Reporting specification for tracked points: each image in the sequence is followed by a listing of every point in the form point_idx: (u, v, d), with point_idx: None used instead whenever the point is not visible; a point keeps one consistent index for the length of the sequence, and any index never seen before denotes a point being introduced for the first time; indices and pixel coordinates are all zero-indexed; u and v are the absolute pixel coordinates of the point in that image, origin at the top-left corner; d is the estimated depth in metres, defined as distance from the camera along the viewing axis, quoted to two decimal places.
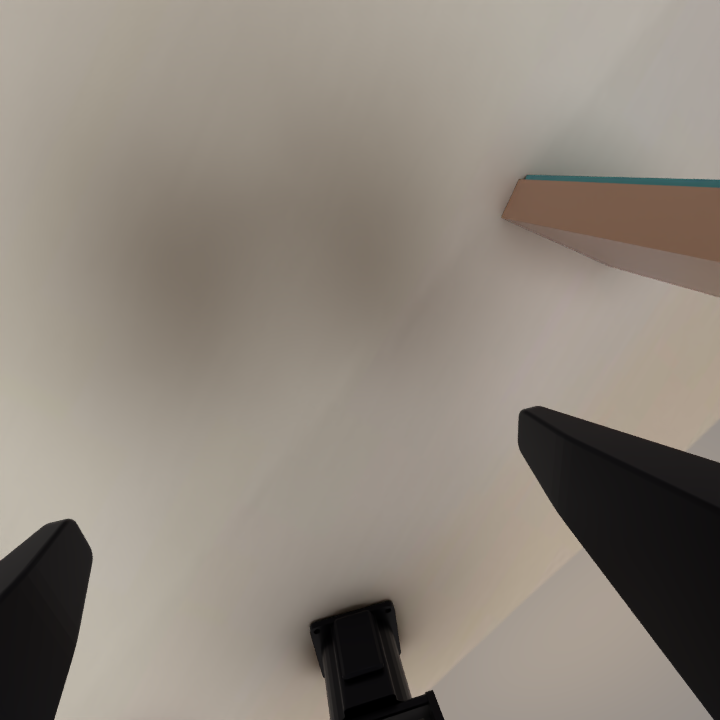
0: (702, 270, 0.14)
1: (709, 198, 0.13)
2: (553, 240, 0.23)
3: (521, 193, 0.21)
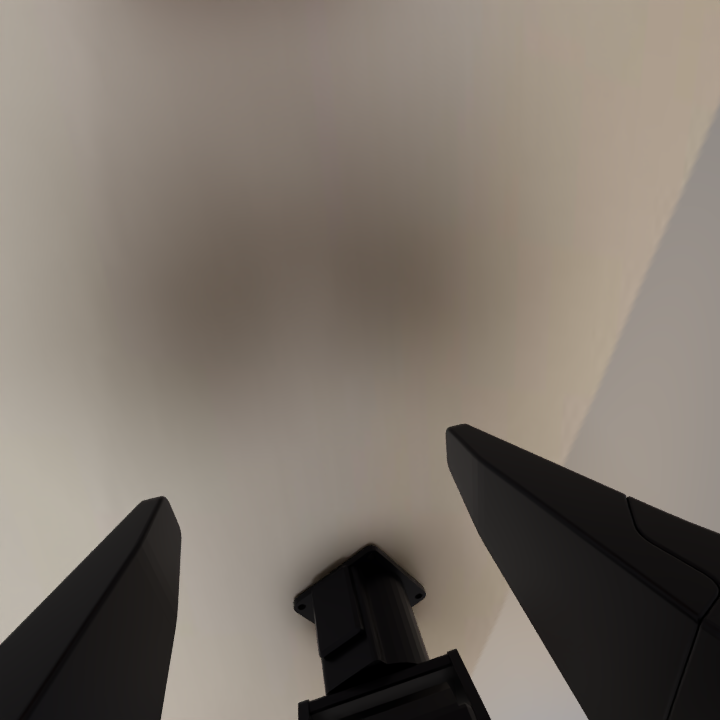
0: None
1: None
2: None
3: None
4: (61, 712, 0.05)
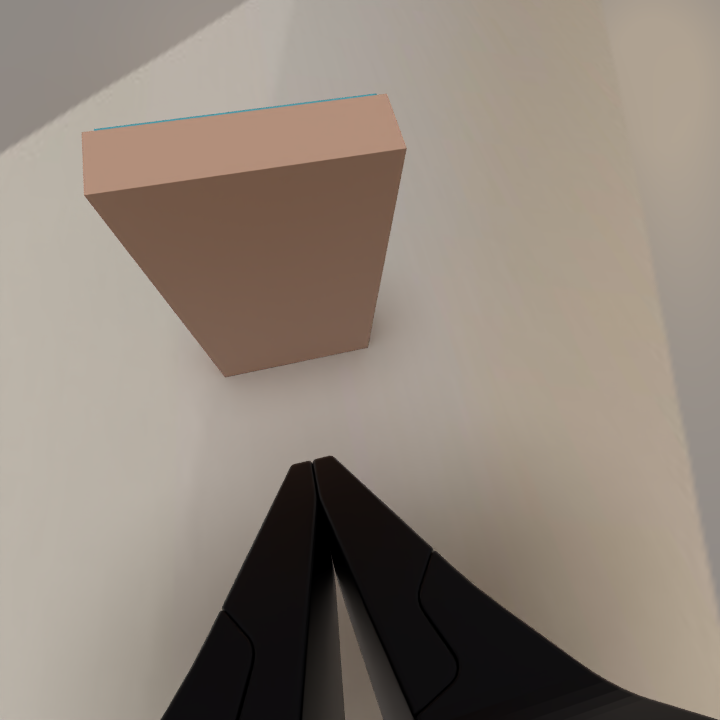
0: (211, 269, 0.14)
1: None
2: (286, 362, 0.23)
3: None
4: (314, 637, 0.05)
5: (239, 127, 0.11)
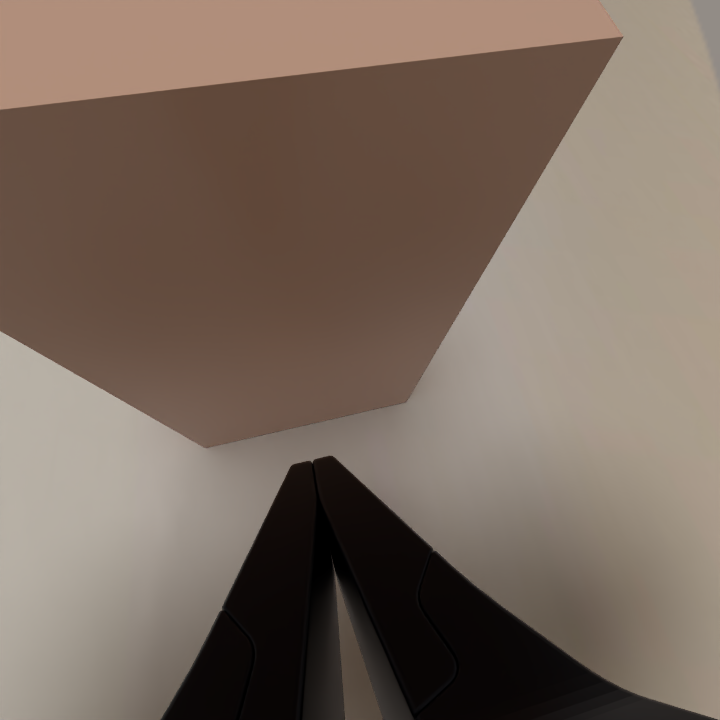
0: (151, 321, 0.07)
1: None
2: (293, 426, 0.17)
3: None
4: (314, 637, 0.05)
5: None
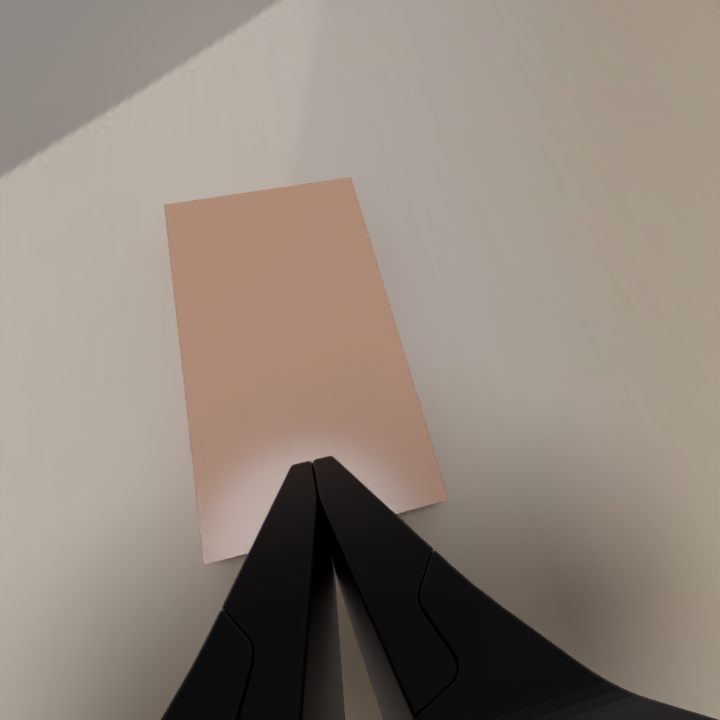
0: (223, 274, 0.17)
1: None
2: None
3: None
4: (314, 637, 0.05)
5: None
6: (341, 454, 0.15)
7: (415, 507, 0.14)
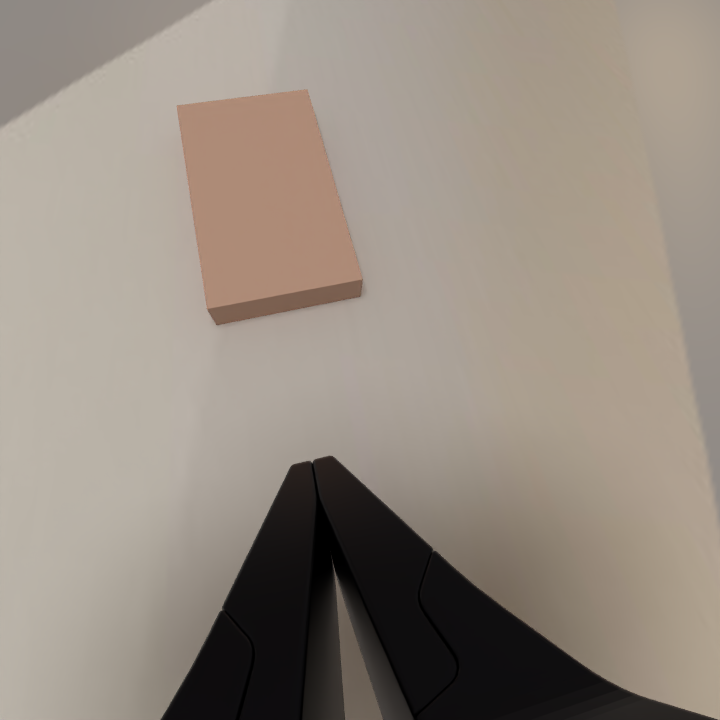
0: (218, 149, 0.25)
1: None
2: (274, 291, 0.22)
3: None
4: (314, 637, 0.05)
5: None
6: (294, 253, 0.23)
7: (341, 283, 0.22)
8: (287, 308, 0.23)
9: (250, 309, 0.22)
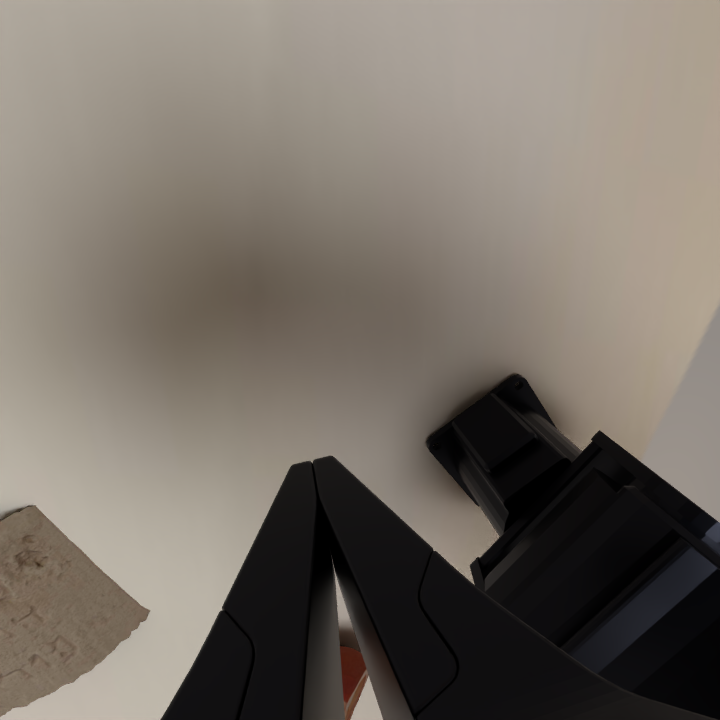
0: None
1: None
2: None
3: None
4: (314, 637, 0.05)
5: None
6: None
7: None
8: None
9: None
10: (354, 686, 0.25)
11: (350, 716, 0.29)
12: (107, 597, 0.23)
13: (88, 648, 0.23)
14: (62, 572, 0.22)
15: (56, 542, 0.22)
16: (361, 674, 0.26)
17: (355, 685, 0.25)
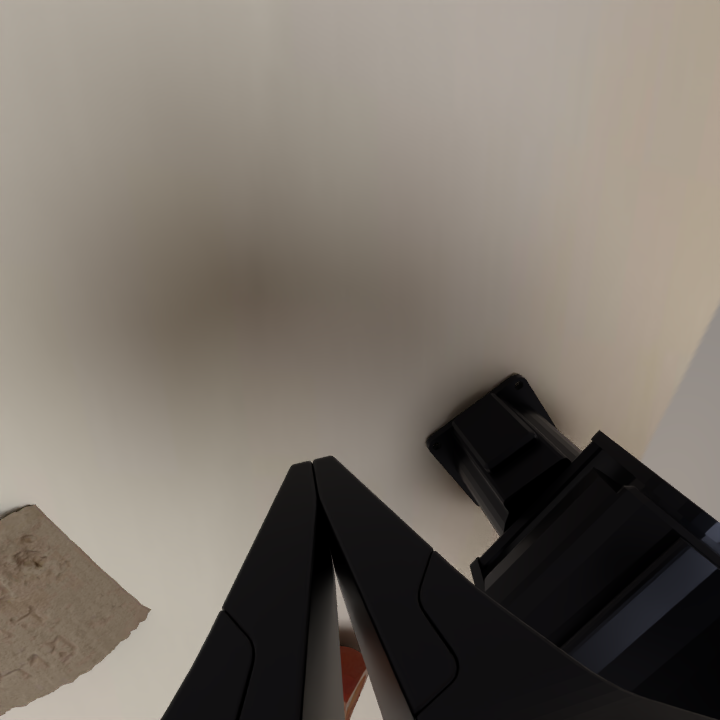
0: None
1: None
2: None
3: None
4: (314, 637, 0.05)
5: None
6: None
7: None
8: None
9: None
10: (354, 686, 0.25)
11: (350, 716, 0.29)
12: (106, 597, 0.23)
13: (87, 648, 0.23)
14: (60, 571, 0.22)
15: (55, 542, 0.21)
16: (361, 674, 0.26)
17: (355, 685, 0.25)
